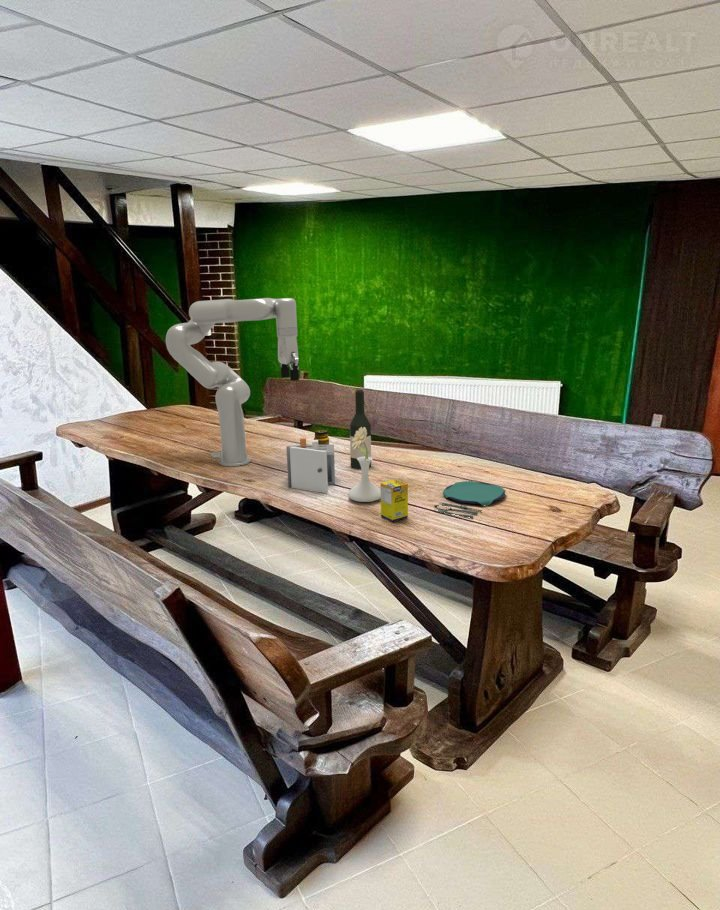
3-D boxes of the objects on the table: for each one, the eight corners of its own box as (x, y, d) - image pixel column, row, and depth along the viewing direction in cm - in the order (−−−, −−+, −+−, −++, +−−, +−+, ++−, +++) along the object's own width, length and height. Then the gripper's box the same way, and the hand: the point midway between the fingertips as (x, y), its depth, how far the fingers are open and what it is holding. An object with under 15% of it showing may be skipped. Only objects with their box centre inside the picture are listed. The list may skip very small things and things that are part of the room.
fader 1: (300, 446, 216) (299, 439, 215) (300, 445, 218) (300, 437, 218) (305, 446, 216) (305, 439, 215) (306, 444, 219) (305, 437, 218)
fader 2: (312, 449, 212) (312, 441, 212) (312, 447, 215) (312, 439, 214) (318, 449, 213) (317, 441, 212) (318, 447, 215) (318, 439, 214)
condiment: (333, 460, 243) (332, 431, 240) (315, 464, 238) (314, 434, 235) (324, 456, 249) (323, 428, 245) (306, 460, 244) (305, 431, 241)
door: (286, 487, 211) (284, 447, 207) (289, 485, 213) (287, 446, 209) (324, 494, 204) (323, 452, 200) (328, 492, 206) (326, 451, 202)
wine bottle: (356, 470, 229) (354, 392, 221) (346, 465, 236) (344, 388, 228) (375, 467, 233) (374, 389, 224) (365, 462, 240) (364, 386, 232)
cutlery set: (514, 492, 203) (514, 486, 202) (477, 523, 179) (477, 516, 178) (459, 483, 213) (459, 477, 213) (418, 511, 190) (418, 504, 189)
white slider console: (289, 485, 213) (287, 452, 210) (291, 477, 222) (289, 445, 219) (334, 484, 213) (333, 451, 210) (334, 476, 223) (334, 444, 220)
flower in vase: (348, 493, 204) (347, 420, 198) (382, 493, 204) (382, 420, 197) (346, 507, 192) (345, 430, 185) (382, 507, 191) (382, 429, 185)
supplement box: (408, 518, 182) (408, 483, 179) (392, 522, 179) (392, 487, 176) (395, 512, 187) (395, 478, 184) (380, 516, 183) (380, 482, 180)
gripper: (270, 332, 230) (273, 377, 234) (285, 334, 215) (288, 382, 220) (288, 330, 233) (291, 375, 238) (305, 333, 218) (307, 380, 223)
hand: (290, 378), depth 229 cm, fingers open, 9 cm apart
